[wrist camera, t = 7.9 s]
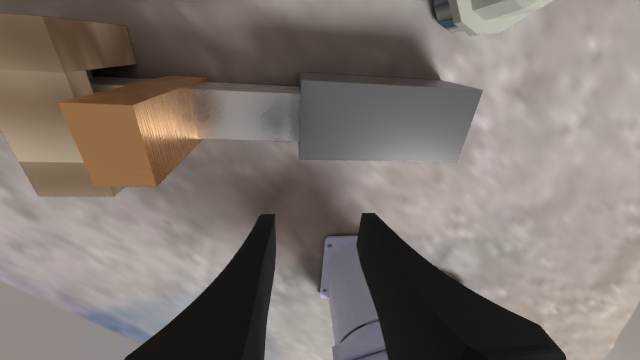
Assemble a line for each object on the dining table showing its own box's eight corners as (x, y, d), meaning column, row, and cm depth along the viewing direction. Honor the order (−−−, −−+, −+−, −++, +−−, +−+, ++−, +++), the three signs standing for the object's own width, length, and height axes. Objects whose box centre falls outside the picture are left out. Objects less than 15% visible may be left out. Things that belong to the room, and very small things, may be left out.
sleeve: (424, 139, 21) (457, 162, 17) (298, 135, 20) (299, 159, 16) (441, 80, 19) (483, 90, 15) (299, 71, 18) (301, 80, 14)
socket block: (161, 156, 20) (114, 196, 15) (107, 155, 19) (38, 196, 14) (126, 25, 16) (41, 16, 10) (55, 20, 15) (-70, 7, 10)
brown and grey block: (335, 131, 20) (363, 187, 12) (118, 124, 18) (-18, 185, 10) (340, 84, 18) (375, 115, 10) (100, 72, 16) (-79, 97, 8)
